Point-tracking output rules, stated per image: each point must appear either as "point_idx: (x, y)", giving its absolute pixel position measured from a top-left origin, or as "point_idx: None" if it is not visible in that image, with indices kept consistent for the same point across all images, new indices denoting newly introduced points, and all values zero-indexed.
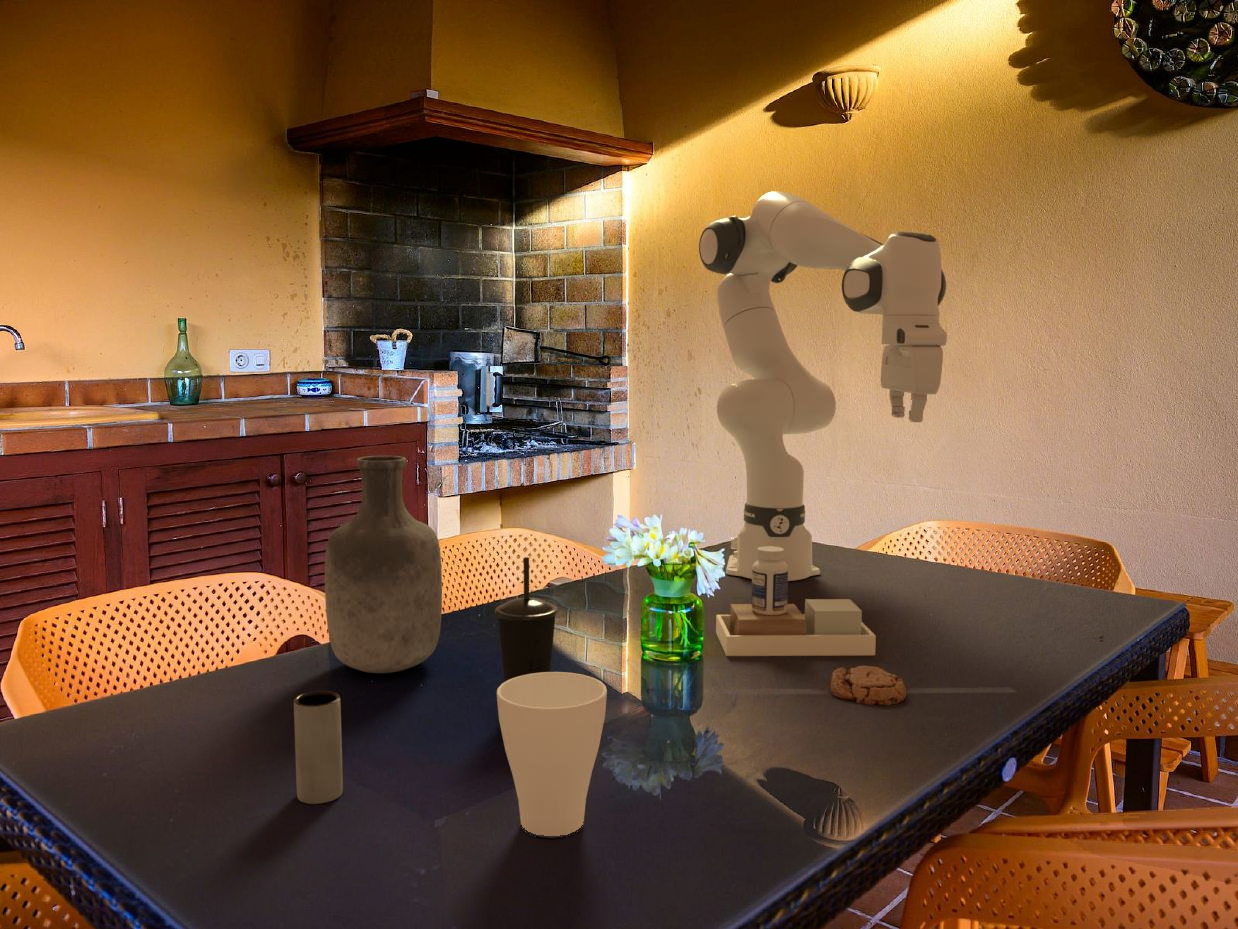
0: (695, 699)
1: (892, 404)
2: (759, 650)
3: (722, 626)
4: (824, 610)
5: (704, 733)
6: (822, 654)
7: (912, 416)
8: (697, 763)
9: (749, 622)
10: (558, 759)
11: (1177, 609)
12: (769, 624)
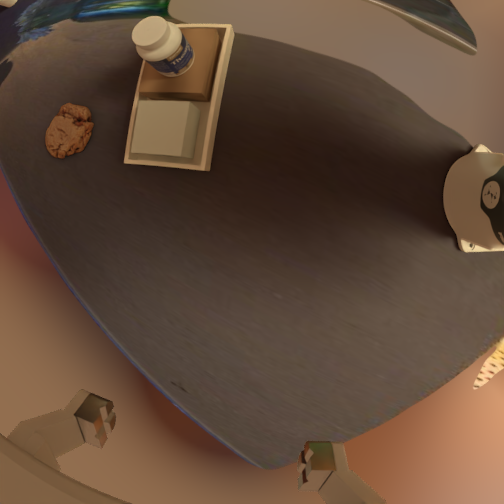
0: (90, 18)
1: (338, 476)
2: None
3: (185, 24)
4: (139, 111)
5: (49, 29)
6: None
7: (72, 399)
8: (26, 32)
9: None
10: None
11: (252, 464)
12: None
